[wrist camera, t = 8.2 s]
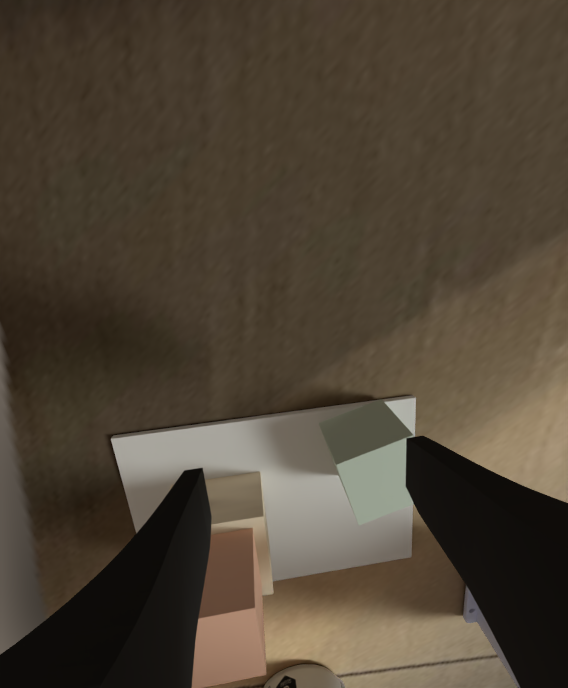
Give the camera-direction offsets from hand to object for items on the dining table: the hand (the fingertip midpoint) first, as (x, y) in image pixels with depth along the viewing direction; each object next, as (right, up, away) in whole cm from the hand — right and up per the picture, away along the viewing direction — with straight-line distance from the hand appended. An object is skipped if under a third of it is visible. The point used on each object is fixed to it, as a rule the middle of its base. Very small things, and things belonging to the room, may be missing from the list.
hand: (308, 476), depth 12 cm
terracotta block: (-5, -8, +8) cm, 13 cm away
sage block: (+4, -2, +12) cm, 12 cm away
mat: (-1, -7, +13) cm, 14 cm away
